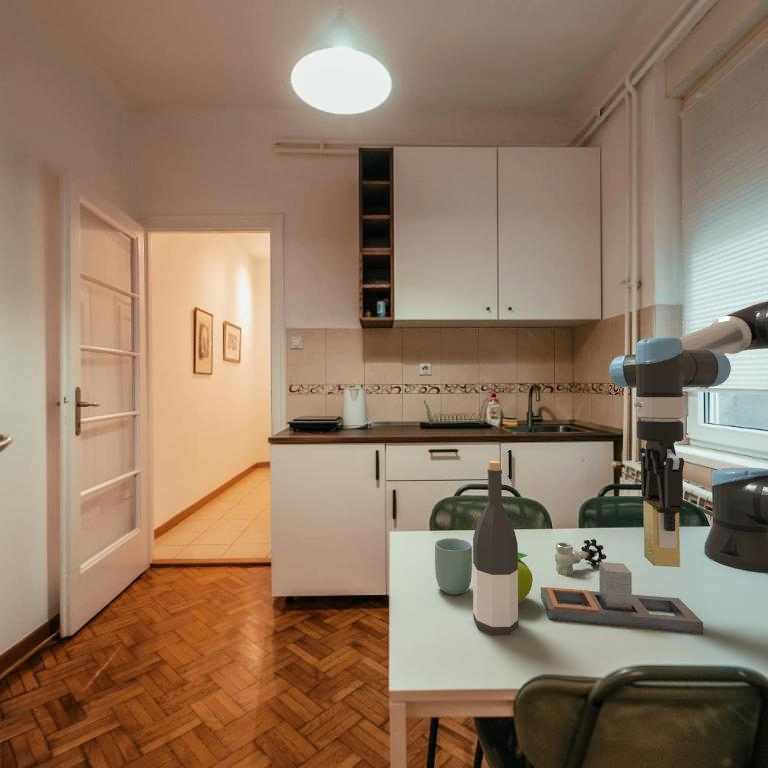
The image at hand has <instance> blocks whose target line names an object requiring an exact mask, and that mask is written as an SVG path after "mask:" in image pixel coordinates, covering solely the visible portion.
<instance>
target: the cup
mask: <svg viewBox="0 0 768 768" xmlns="http://www.w3.org/2000/svg"><path fill="white" fill-rule="evenodd" d="M434 569H435V571H434V573H435V579H436V583H437V586H438V587H439V588H440V590H441V591H442V592H444V593H445V594H448V595H451V596H458V595H462V594H464V593H466V592H467V591H468V590H469V588H470V585H471V583H472V579H473V544H472V543H470V542H469V541H467V540H465V539H462V538H456V537H453V538H452V537H445V538H442V539H438V540H437V541H435V543H434Z"/></svg>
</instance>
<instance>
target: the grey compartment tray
mask: <svg viewBox="0 0 768 768" xmlns="http://www.w3.org/2000/svg"><path fill="white" fill-rule="evenodd" d="M540 599H541V602H542V604H543V607H544V610H545V613H546V615H547V619H548V620H550V621H551V620H553V621H563V622H573V623H574V622H575V623H582V624H583V623H585V624H595V625H606V626H616V627H617V626H618V627H625V626H626V628H637V629H638V628H639V629H648V630H658V631H659V630H660V631H671V632H681V633H688V634H689V633H690V634H704V621H702V620H701V619H700V618H699V617H698V616H697V614H695V613H694V612H693V611H692V610H691V609H690V608H689V607H688V606H687V604H685V603H684V602H683V601H682V600H681V599H680V598H679V597H669V596H655V595H645V594H632V612H624V611H612V610H603V608H602V607H601V605H600V591H593V590H586V589H585V590H583V589H574V588H562V587H561V588H560V587H543V586H541V587H540ZM558 602H559V603H558ZM560 603H570V604H560ZM571 603H572V604H582V605H572V604H571ZM649 610H651V611H652V610H653V611H654V610H655V611H664V612H665V611H666V612H671V614H673V615H666V614H658V613H657V614H656V613H650V612H649Z"/></svg>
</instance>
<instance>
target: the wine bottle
mask: <svg viewBox="0 0 768 768" xmlns="http://www.w3.org/2000/svg"><path fill="white" fill-rule="evenodd" d="M502 474H503V470H502V469H501V461H498V460H490V461H489V462H488V468H487V490H488V491H487V503H486V506H485V507H484V509H483V511H482V513H481V514H480V516H479V518H478V520H477V522H476V526H475V528H474V533H473V538H472V539H473V540H472V586H473V587H472V589H473V591H472V593H473V595H472V601H473V602H472V604H473V605H472V609H473V610H472V611H473V615H472V616H473V621H474V623H475V626H476V628H477V630H479V631H482V632H484V633H486V634H489V635H490V636H510V635H512V633H514V632H515V631H516V630H517V629H518V627H519V604H518V553H519V552H518V551H519V545H518V539H517V536H516V531H515V529H514V526H513V523H512V520H511V519H510V517H509V515H508V514H507V511H506V509H505V507H504V505H503V503H502V499H503V498H502V495H503V494H502V491H503V490H502V488H503V486H502V476H503V475H502Z"/></svg>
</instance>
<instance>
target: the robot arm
mask: <svg viewBox="0 0 768 768" xmlns="http://www.w3.org/2000/svg"><path fill="white" fill-rule="evenodd" d="M763 349H764V350H767V349H768V300H767V301H762V302H759V303H755V304H752V305H750V306H747V307H744V308H742V309H739V310H736V311H734V312H731V313H729V314H726V315H724V316H722V317H719V318H717V319H715V320H714V321H713V322H712V323H711V325H709V326H706V327H704V328H701V329H698V330H696V331H693V332H691V333H689V334H685V335H682V336H680V337H676V336H675V337H674V336H671V337H670V336H669V337H667V336H666V337H650V338H644V339H640V340H638V342H637V343H636V347H635V350H636V351H635V353H634V354H624V355H619V356H616V357H614V358H613V360H612V361H611V362H610V365H609V369H608V371H609V377H610V380H611V381H612V383H613V384H614V385H615V386H617V387H619V388H620V387H621V388H629V389H634V388H636V394H635V395H636V401H635V402H634V403H633V405H634V407H635V408H636V416H637V417H638V418H640V419H638V420H637V421H636V437H637V439H638V440H641V441H646V442H645V447H640V448H639V451H638V452H639V455H640V457H639V458H640V480H641V481H640V482H641V483H640V485H641V496H642V498H644V500H648V501H660V509H656V511H657V512H658V540H659V547H660V548H677V543H676V513H679V514H680V513H682V514H683V511H684V490H683V489H684V488H683V485H684V483H683V482H684V481H683V478H684V477H683V471H684V465H685V460H684V458H683V457H677V453H676V449H675V443H676V442H677V443H679V442H682V441H683V440H684V438H685V436H684V422H683V421H681V419H683V418H684V417H685V416H684V415H685V414H684V413H685V412H684V410H685V409H684V392H683V390H684V388H689V389H690V388H701V389H703V388H705V389H707V388H713V387H714V388H715V387H717V386H720V385H723V383H724V382H726V381H727V380H728V379H729V377H730V375H731V372H732V371H731V369H732V365H731V361H730V359H729V358H728V357H727V356H726V355H725V354H730V355H733V354H739V353H742V352H744V351H750V350H751V351H752V350H763ZM711 499H712V501H711V509H712V514H711V515H712V525H711V528H710V530H709V533H708V535H707V537H706V539H705V541H704V548H703V549H704V551H703V552H704V555H705V556H706V557H708V558H709V559H711V560H713V561H715V562H717V563H720V564H723V565H725V566H728V567H732V568H737V569H742V570H745V571H746V570H747V571H753V572H763V573H765V572H766V573H767V572H768V468H765V467H764V468H763V467H762V468H760V467H729V468H728V467H725V468H718V469H715V470H714V471H713V473H712V477H711Z"/></svg>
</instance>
